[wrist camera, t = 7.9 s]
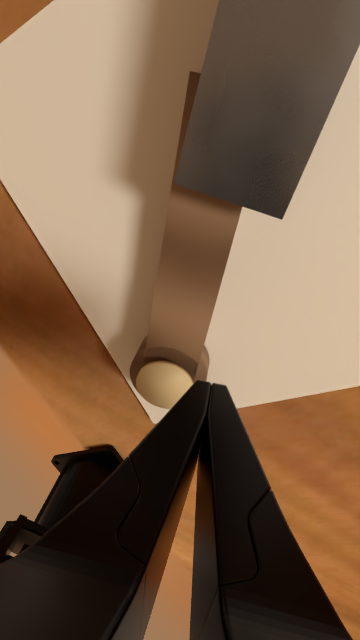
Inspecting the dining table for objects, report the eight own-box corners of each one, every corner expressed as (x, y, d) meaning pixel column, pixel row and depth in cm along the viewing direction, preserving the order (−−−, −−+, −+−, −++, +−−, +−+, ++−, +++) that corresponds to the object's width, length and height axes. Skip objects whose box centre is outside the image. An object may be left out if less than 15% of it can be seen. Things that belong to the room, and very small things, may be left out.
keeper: (275, 197, 15) (282, 219, 12) (191, 170, 15) (173, 183, 12) (388, -73, 10) (453, -166, 7) (267, -111, 11) (273, -222, 7)
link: (201, 393, 22) (196, 415, 20) (135, 375, 22) (126, 396, 20) (290, 97, 13) (295, 93, 11) (181, 73, 13) (170, 66, 12)
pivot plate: (155, 418, 24) (142, 456, 22) (-49, 89, 16) (-113, 83, 13) (488, 355, 17) (534, 399, 15) (456, -310, 9) (553, -519, 6)
